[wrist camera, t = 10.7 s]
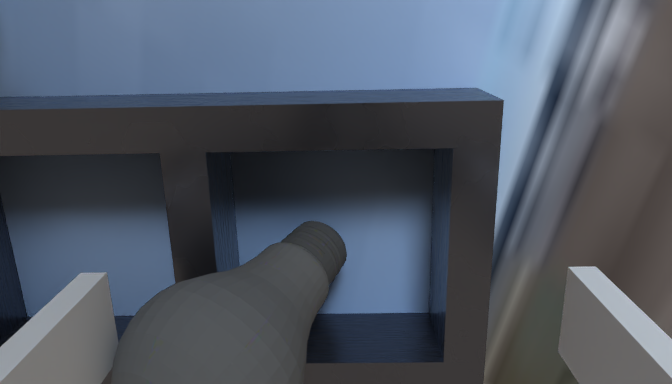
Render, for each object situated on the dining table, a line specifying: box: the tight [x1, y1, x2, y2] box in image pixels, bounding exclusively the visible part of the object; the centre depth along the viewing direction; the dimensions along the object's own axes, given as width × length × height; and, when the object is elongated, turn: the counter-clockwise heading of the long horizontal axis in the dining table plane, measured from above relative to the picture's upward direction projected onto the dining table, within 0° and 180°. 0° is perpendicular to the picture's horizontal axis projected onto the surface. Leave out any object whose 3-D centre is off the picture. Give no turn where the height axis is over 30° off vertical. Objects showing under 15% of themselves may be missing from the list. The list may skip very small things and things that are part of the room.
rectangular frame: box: [0, 88, 504, 384], centre depth 20 cm, size 11×20×4 cm, turn 91°
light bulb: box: [111, 221, 347, 384], centre depth 17 cm, size 6×6×10 cm
